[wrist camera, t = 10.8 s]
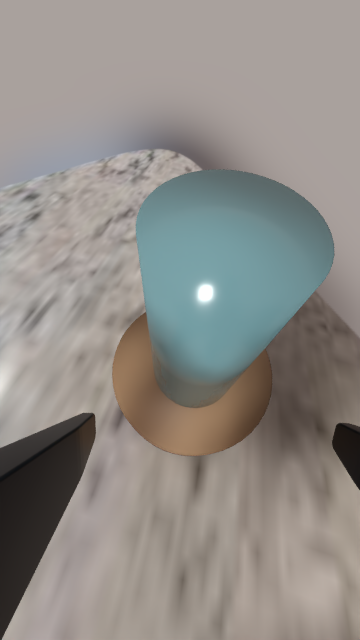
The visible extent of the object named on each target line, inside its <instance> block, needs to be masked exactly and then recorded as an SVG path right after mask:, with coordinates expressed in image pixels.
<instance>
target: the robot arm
mask: <svg viewBox="0 0 360 640" xmlns="http://www.w3.org/2000/svg"><path fill="white" fill-rule="evenodd" d="M95 435H96V427H95V415H94V414H93V413H82V414H80V415H77V416H75V417H73V418H70V419H68V420H65V421H63V422H61V423H58V424H56V425H54V426H51V427H49V428H47V429H44V430H42V431H40V432H37V433H35V434H33V435H30V436H28V437H25V438H23V439H21V440H18V441H16V442H14V443H11V444H9V445H7V446H4V447H2V448H0V640H2V638H3V636H4V633H5V631H6V629H7V627H8V625H9V623H10V621H11V619H12V617H13V615H14V613H15V611H16V609H17V607H18V605H19V603H20V601H21V599H22V597H23V595H24V593H25V591H26V589H27V587H28V585H29V583H30V581H31V579H32V577H33V575H34V573H35V570H36V568H37V566H38V564H39V562H40V560H41V558H42V556H43V554H44V552H45V550H46V548H47V546H48V544H49V542H50V540H51V538H52V536H53V534H54V532H55V530H56V528H57V526H58V524H59V522H60V520H61V518H62V516H63V514H64V512H65V510H66V508H67V505H68V503H69V501H70V499H71V497H72V495H73V493H74V491H75V489H76V487H77V485H78V483H79V481H80V479H81V477H82V474H83V471H84V469H85V466H86V463H87V460H88V457H89V455H90V452H91V449H92V446H93V443H94V440H95ZM332 445H333V449H334V451H335V452H336V454H337V455H338V457H339V459H340V460H341V462H342V464H343V465H344V467H345V468H346V470H347V472H348V473H349V475H350V476H351V478H352V480H353V481H354V483H355V484H356V486H357V487H358V489H359V490H360V427H358V426H355V425H352V424H349V423H338V424H337V425H336V428H335V432H334V436H333V440H332Z"/></svg>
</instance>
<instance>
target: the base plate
mask: <svg viewBox="0 0 360 640" xmlns="http://www.w3.org/2000/svg"><path fill="white" fill-rule="evenodd" d="M112 378H113V387H114V391H115V395H116V399H117V401H118V404H119V406H120V409H121V410H122V412H123V414H124V416H125V417H126V419H127V420H128V421H129V423H130V424H131V425H132V426H133V428H134V429H135V430H136V431H137V432H138V433H139V434H140V435H141V436H142V437H143V438H144V439H146V440H147V441H148V442H150V443H151V444H152V445H154V446H156V447H158V448H160V449H162V450H164V451H167V452H170V453H173V454H178V455H183V456H200V455H207V454H212V453H215V452H219V451H223V450H225V449H227V448H229V447H232V446H234V445H235V444H237V443H238V442H240V441H242V440H243V439H244V438H245V437H246V436H248V435H249V434H250V433H251V432H252V431H253V430H254V428H255V427H256V426H257V425H258V424H259V422H260V420H261V419H262V417H263V416H264V414H265V411H266V409H267V407H268V404H269V400H270V397H271V390H272V370H271V364H270V360H269V357H268V354H267V352H266V349H264V350H263V351H262V352H261V353H260V355H259V356H258V357H257V358H256V359H255V360H254V361H253V363H252V364H251V365H250V366H249V367H248V368H247V370H246V371H245V372H244V373H243V374H242V375H241V376H240V378H239V379H238V380H237V381H236V382H235V383H234V385H233V386H232V387H231V388H230V389H229V390H228V391H227V393H226V394H225V395H224V396H223V397H222V398H221V399H220V400H218V401H217V402H215V403H214V404H211V405H209V406H206V407H201V408H189V407H184V406H181V405H179V404H176V403H174V402H173V401H171V400H170V399H169V398H168V397H166V396H165V395H164V393H163V392H162V391H161V390H160V388H159V386H158V384H157V382H156V379H155V375H154V369H153V361H152V353H151V346H150V338H149V330H148V322H147V315H146V312H145V313H144V314H143V315H141V316H140V317H139V318H138V319H136V320H135V321H134V322H133V323H132V324H131V326H130V327H129V328H128V329H127V330H126V332H125V334H124V335H123V337H122V338H121V340H120V343H119V345H118V347H117V350H116V353H115V356H114V362H113V373H112Z"/></svg>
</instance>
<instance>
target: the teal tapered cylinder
mask: <svg viewBox="0 0 360 640" xmlns="http://www.w3.org/2000/svg"><path fill="white" fill-rule="evenodd" d="M136 238H137V245H138V253H139V261H140V268H141V276H142V284H143V292H144V299H145V307H146V315H147V322H148V330H149V338H150V346H151V353H152V361H153V369H154V375H155V379H156V382H157V384H158V386H159V388H160V390H161V391H162V392H163V393H164V395H165V396H166V397H168V398H169V399H170V400H171V401H173V402H174V403H176V404H179V405H181V406H184V407H189V408H201V407H206V406H209V405H211V404H214V403H215V402H217V401H218V400H220V399H221V398H222V397H223V396H224V395H225V394H226V393H227V391H228V390H229V389H230V388H231V387H232V386H233V385H234V383H235V382H236V381H237V380H238V379H239V378H240V376H241V375H242V374H243V373H244V372H245V371H246V370H247V368H248V367H249V366H250V365H251V364H252V363H253V361H254V360H255V359H256V358H257V357H258V356H259V355H260V353H261V352H262V351H263V350H264V349H265V348H266V347H267V345H268V344H269V343H270V342H271V341H272V340H273V338H274V337H275V336H276V335H277V334H278V333H279V332H280V330H281V329H282V328H283V327H284V326H285V325H286V324H287V322H288V321H289V320H290V319H291V318H292V317H293V315H294V314H295V313H296V312H297V311H298V310H299V309H300V307H301V306H302V305H303V304H304V303H305V302H306V301H307V299H308V298H309V297H310V296H311V295H312V294H313V292H314V291H315V290H316V289H317V288H318V287H319V286H320V284H321V283H322V282H323V281H324V280H325V278H326V276H327V275H328V273H329V271H330V269H331V266H332V264H333V258H334V243H333V238H332V235H331V232H330V229H329V227H328V225H327V224H326V222H325V220H324V218H323V217H322V216H321V215H320V213H319V212H318V210H316V208H315V207H314V206H313V205H312V204H311V203H310V202H308V201H307V200H306V199H305V198H304V197H302V196H301V195H299V194H298V193H296V192H295V191H294V190H292V189H290V188H288V187H287V186H285V185H283V184H281V183H278V182H276V181H274V180H271V179H269V178H266V177H263V176H259V175H256V174H252V173H248V172H242V171H235V170H203V171H197V172H191V173H187V174H184V175H181V176H178V177H175V178H173V179H171V180H169V181H167V182H165V183H163V184H162V185H160V186H159V187H157V188H156V189H155V190H154V191H153V192H152V193H151V194H150V195H149V196H148V197H147V198H146V199H145V201H144V202H143V204H142V206H141V208H140V210H139V213H138V215H137V221H136Z"/></svg>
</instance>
